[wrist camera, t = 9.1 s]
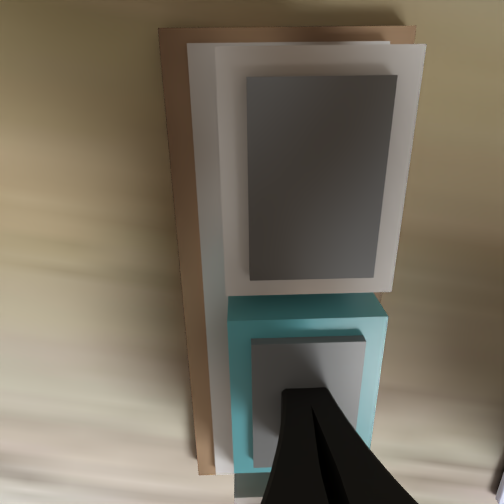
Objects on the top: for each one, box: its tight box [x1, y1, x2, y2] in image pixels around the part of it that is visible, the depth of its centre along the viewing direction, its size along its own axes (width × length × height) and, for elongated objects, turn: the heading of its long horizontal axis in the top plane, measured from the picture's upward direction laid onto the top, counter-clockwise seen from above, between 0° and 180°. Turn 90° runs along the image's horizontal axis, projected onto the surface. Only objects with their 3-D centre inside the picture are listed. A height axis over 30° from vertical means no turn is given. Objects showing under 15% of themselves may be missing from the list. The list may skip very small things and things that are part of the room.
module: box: [227, 292, 388, 473], centre depth 15 cm, size 4×6×6 cm
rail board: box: [158, 26, 427, 504], centre depth 16 cm, size 9×22×8 cm, turn 1°
